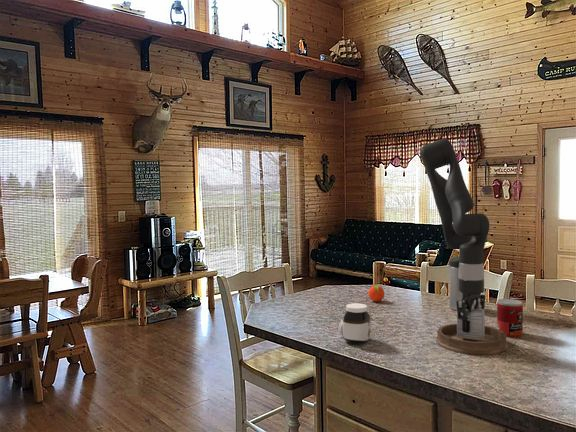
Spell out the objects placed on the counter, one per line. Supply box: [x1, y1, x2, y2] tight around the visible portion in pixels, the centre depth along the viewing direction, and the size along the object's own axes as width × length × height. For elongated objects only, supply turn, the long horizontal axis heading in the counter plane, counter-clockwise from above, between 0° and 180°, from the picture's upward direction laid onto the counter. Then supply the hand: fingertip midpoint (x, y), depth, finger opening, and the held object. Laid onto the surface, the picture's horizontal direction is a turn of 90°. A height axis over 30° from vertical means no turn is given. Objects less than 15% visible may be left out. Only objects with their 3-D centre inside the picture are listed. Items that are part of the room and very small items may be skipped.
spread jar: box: [337, 302, 372, 345], centre depth 158 cm, size 12×11×12 cm
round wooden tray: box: [436, 323, 509, 356], centre depth 151 cm, size 21×21×4 cm
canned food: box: [496, 298, 524, 338], centre depth 159 cm, size 8×8×11 cm
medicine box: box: [456, 308, 486, 339], centre depth 151 cm, size 8×4×9 cm, turn 64°
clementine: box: [367, 284, 385, 303], centre depth 208 cm, size 8×7×7 cm
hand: (471, 329), depth 151 cm, fingers closed on medicine box, 5 cm apart
